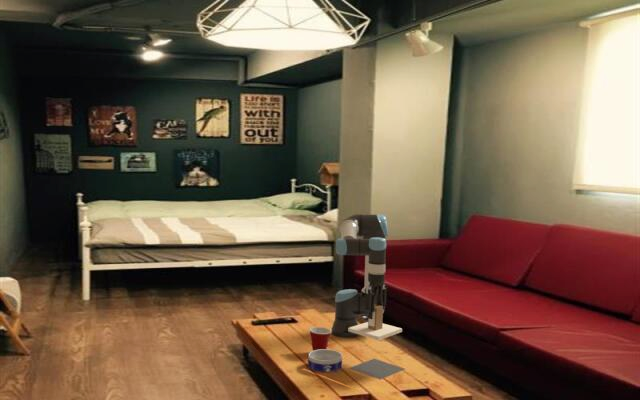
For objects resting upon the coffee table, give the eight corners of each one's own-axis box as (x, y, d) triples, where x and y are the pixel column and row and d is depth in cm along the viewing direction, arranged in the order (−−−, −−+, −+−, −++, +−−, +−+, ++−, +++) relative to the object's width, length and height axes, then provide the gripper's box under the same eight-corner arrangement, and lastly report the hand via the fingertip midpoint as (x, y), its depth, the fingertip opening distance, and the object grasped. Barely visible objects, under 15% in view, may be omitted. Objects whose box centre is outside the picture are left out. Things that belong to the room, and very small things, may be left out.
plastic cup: (334, 356, 274) (334, 331, 273) (312, 358, 271) (313, 333, 270) (326, 349, 284) (327, 325, 283) (305, 351, 281) (306, 326, 280)
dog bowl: (316, 375, 250) (316, 362, 249) (302, 364, 264) (303, 351, 263) (347, 371, 256) (348, 358, 256) (333, 360, 270) (333, 347, 270)
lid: (372, 323, 269) (372, 299, 268) (402, 331, 257) (402, 306, 256) (348, 331, 257) (348, 305, 256) (378, 340, 245) (379, 313, 244)
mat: (374, 359, 271) (374, 358, 271) (405, 370, 258) (405, 368, 258) (348, 369, 258) (348, 368, 258) (380, 380, 245) (380, 379, 245)
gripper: (382, 268, 264) (380, 319, 266) (357, 274, 251) (356, 326, 253) (395, 271, 259) (393, 322, 261) (370, 276, 246) (369, 330, 248)
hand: (375, 324), depth 257 cm, fingers closed on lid, 4 cm apart
